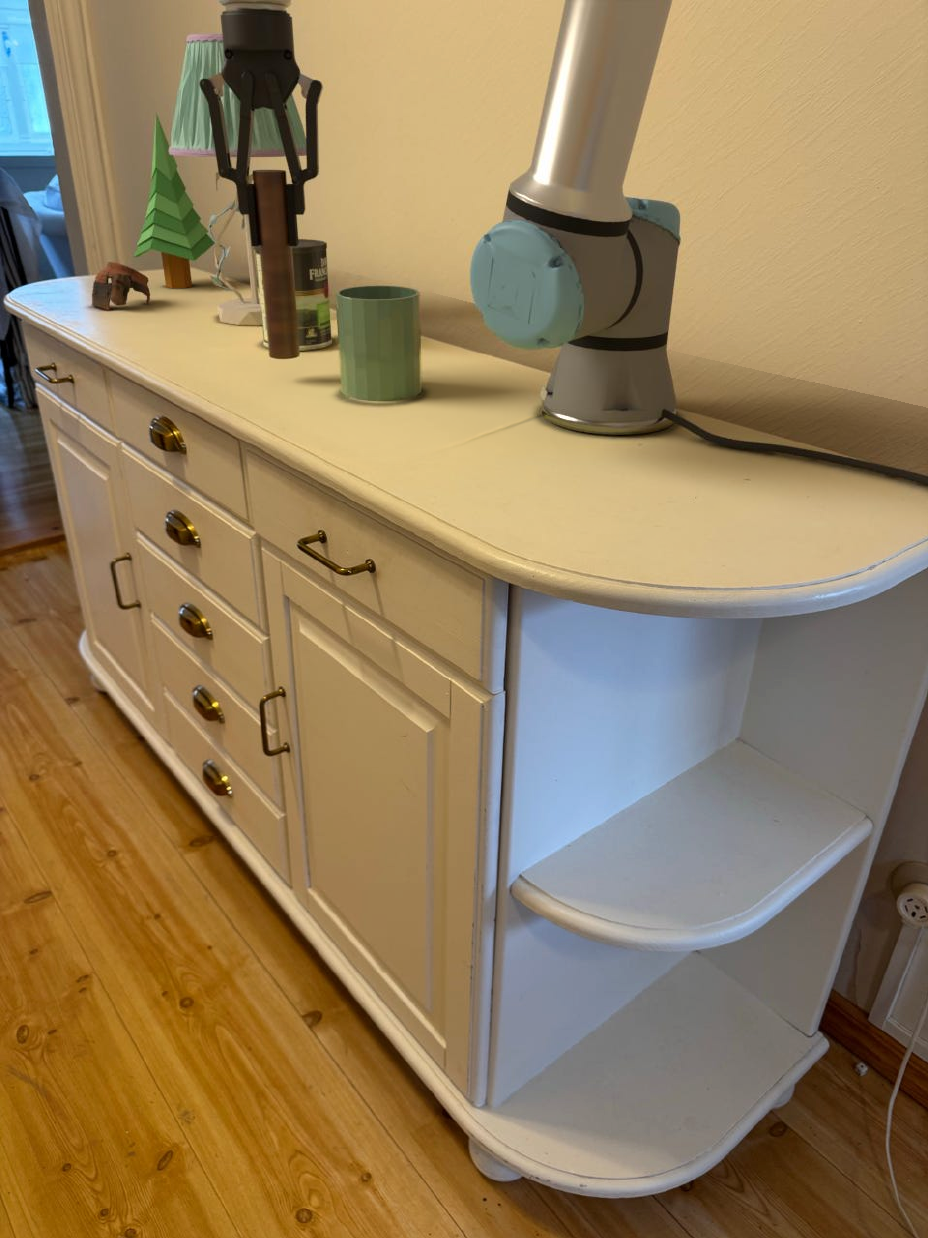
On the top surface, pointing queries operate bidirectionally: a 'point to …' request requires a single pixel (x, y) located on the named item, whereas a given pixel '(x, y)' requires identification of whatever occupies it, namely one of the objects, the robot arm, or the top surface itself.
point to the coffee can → (306, 294)
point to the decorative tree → (171, 218)
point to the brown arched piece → (117, 285)
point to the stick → (276, 263)
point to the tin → (379, 342)
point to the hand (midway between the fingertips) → (275, 244)
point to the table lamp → (197, 140)
